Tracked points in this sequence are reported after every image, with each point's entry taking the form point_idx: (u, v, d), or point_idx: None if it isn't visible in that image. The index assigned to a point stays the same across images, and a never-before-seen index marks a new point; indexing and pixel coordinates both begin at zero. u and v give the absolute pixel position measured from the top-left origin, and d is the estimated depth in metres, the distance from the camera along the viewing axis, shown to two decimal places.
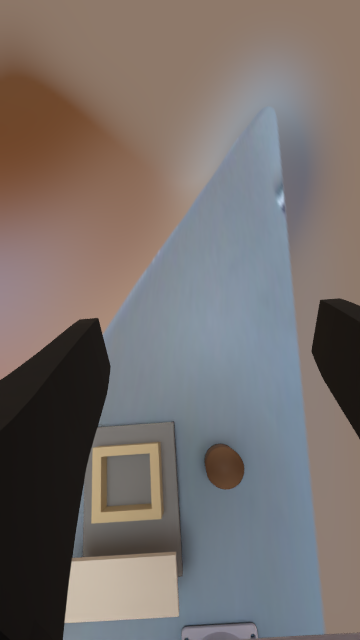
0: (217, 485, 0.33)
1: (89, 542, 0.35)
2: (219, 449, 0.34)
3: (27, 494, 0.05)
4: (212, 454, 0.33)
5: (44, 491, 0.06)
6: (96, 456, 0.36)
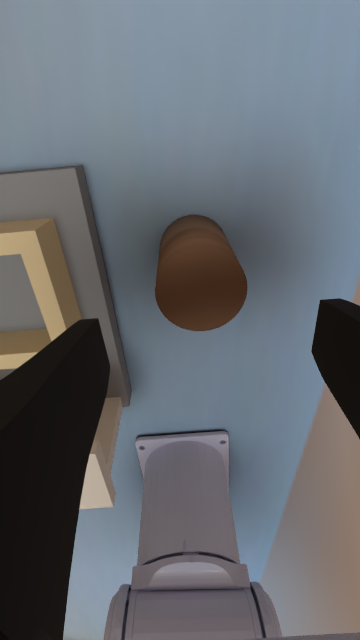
0: (182, 325, 0.14)
1: None
2: (189, 251, 0.13)
3: (27, 494, 0.05)
4: (171, 264, 0.13)
5: (44, 491, 0.06)
6: None
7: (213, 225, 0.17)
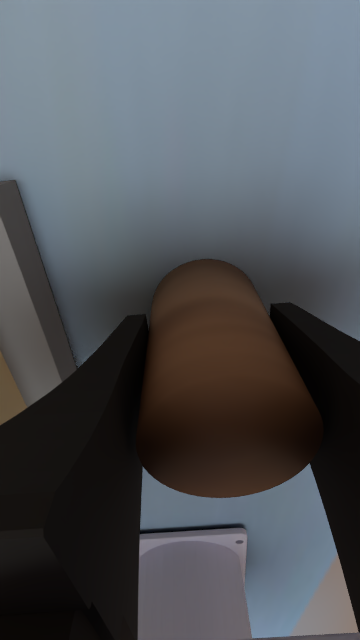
0: (189, 491, 0.08)
1: None
2: (208, 381, 0.06)
3: (114, 488, 0.05)
4: (167, 403, 0.06)
5: (122, 486, 0.06)
6: None
7: (241, 282, 0.10)
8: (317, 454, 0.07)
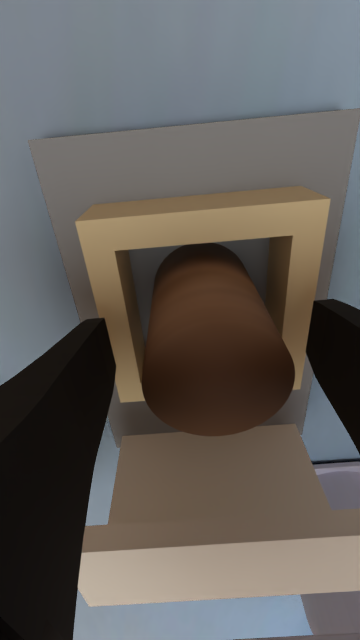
0: (185, 429, 0.09)
1: (117, 402, 0.17)
2: (200, 326, 0.07)
3: (39, 493, 0.05)
4: (168, 345, 0.07)
5: (55, 490, 0.06)
6: (97, 250, 0.10)
7: (232, 260, 0.11)
8: None
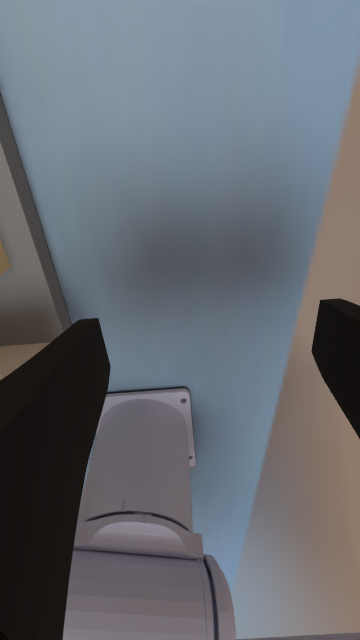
0: None
1: None
2: None
3: (27, 494, 0.05)
4: None
5: (44, 491, 0.06)
6: None
7: None
8: None
